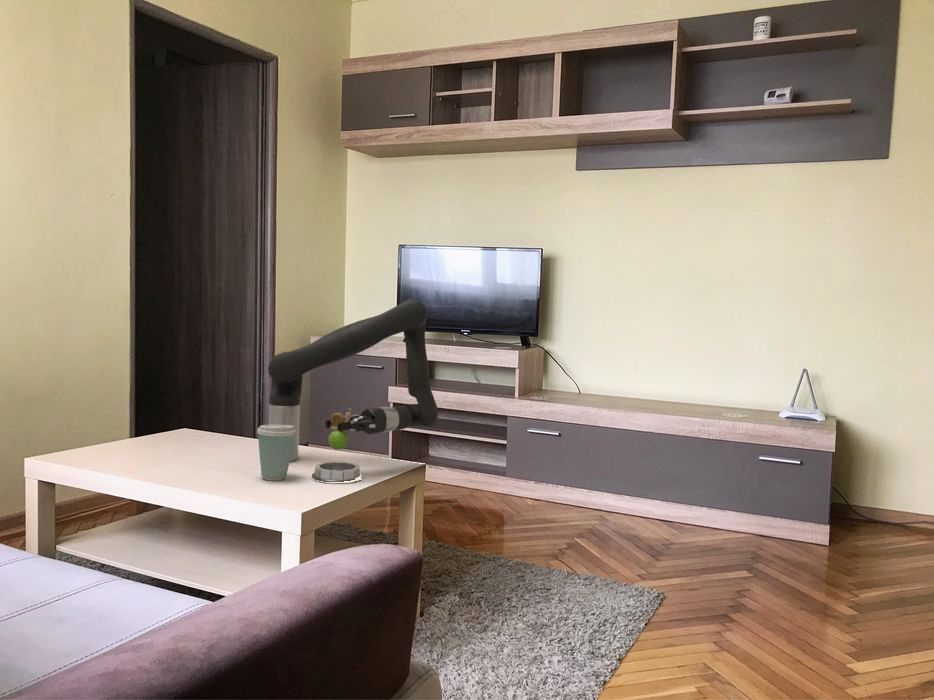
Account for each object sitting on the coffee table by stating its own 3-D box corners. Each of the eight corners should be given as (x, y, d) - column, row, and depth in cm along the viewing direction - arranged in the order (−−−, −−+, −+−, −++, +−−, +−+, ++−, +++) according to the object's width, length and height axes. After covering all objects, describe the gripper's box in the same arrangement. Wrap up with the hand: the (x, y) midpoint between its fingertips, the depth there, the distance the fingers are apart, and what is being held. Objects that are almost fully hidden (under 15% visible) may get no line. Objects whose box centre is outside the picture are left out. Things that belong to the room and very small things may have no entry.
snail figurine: (345, 452, 208) (346, 409, 207) (324, 450, 209) (325, 407, 208) (353, 448, 213) (354, 406, 212) (333, 446, 215) (334, 404, 214)
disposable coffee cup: (249, 475, 209) (251, 422, 208) (285, 472, 215) (287, 420, 214) (263, 484, 201) (265, 428, 200) (301, 480, 207) (303, 426, 206)
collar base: (310, 483, 204) (311, 471, 203) (313, 471, 217) (313, 460, 217) (362, 484, 206) (363, 472, 206) (361, 472, 220) (362, 461, 219)
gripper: (365, 404, 226) (317, 408, 214) (395, 410, 215) (347, 415, 203) (364, 429, 226) (317, 434, 214) (395, 436, 216) (346, 443, 204)
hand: (332, 425), depth 209 cm, fingers closed on snail figurine, 5 cm apart
